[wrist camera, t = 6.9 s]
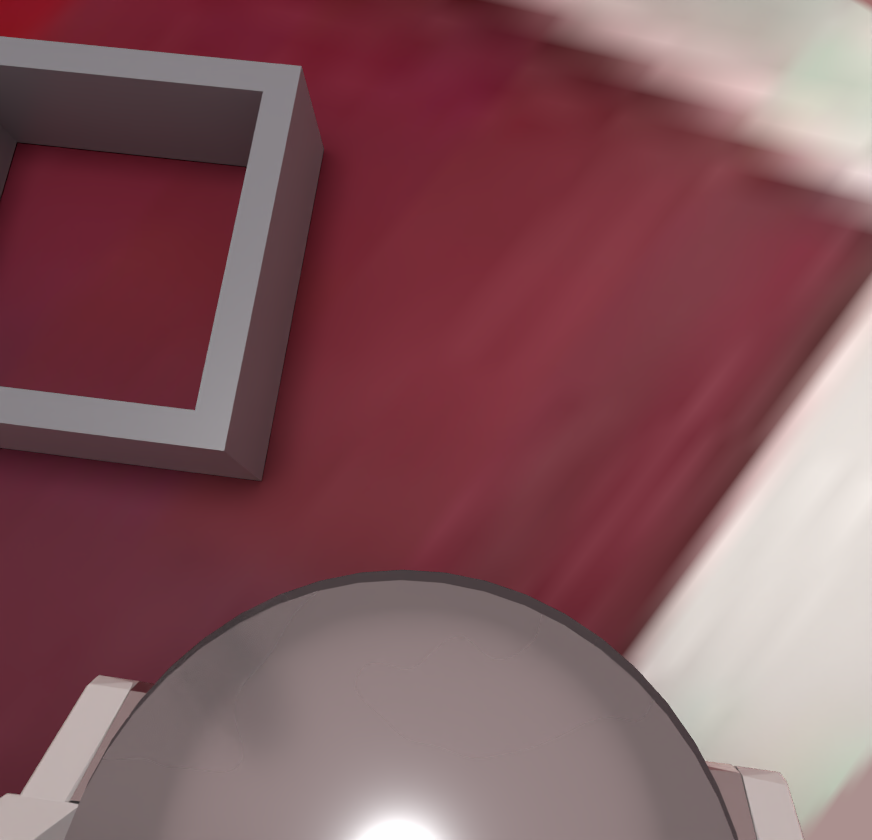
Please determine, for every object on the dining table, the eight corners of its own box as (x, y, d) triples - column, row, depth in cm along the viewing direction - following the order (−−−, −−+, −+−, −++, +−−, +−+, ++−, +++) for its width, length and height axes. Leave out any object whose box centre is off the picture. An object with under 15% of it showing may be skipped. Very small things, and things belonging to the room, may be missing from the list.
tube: (310, 828, 19) (-66, 1335, 5) (346, 597, 20) (119, 526, 7) (537, 863, 18) (760, 1497, 5) (560, 627, 20) (784, 615, 6)
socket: (-100, 434, 21) (-205, 397, 18) (-3, 115, 24) (-79, 28, 20) (261, 481, 21) (224, 450, 17) (323, 149, 23) (301, 66, 20)
